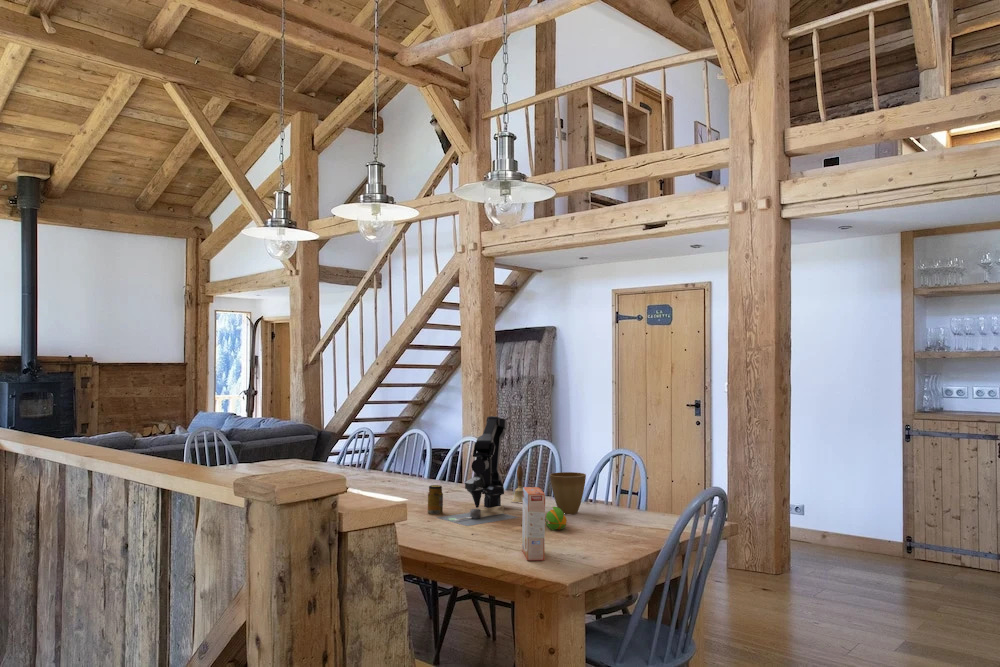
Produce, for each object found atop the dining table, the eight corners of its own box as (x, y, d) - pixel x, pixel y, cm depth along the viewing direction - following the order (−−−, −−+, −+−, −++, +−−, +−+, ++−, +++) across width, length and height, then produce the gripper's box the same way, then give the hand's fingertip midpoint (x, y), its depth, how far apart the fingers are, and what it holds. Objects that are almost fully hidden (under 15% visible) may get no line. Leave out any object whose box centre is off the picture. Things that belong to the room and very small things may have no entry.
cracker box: (545, 561, 236) (546, 493, 236) (526, 561, 235) (526, 493, 236) (539, 550, 250) (540, 486, 250) (521, 550, 249) (521, 486, 250)
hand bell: (508, 502, 336) (508, 466, 337) (514, 499, 344) (514, 464, 345) (526, 504, 333) (526, 467, 334) (531, 500, 341) (531, 465, 342)
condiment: (437, 513, 311) (437, 484, 312) (449, 516, 305) (449, 486, 305) (422, 515, 307) (422, 485, 307) (434, 518, 300) (434, 488, 301)
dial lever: (499, 512, 306) (499, 504, 306) (505, 514, 303) (506, 506, 303) (451, 520, 291) (451, 512, 291) (458, 522, 288) (458, 513, 288)
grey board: (487, 512, 314) (487, 509, 314) (519, 519, 299) (519, 517, 299) (436, 520, 297) (436, 517, 297) (467, 528, 282) (467, 525, 282)
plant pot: (587, 510, 319) (587, 472, 320) (584, 517, 304) (584, 477, 305) (551, 509, 322) (551, 471, 322) (547, 515, 307) (548, 476, 308)
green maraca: (550, 511, 276) (541, 501, 296) (548, 532, 276) (540, 521, 296) (570, 512, 277) (560, 502, 297) (568, 533, 277) (558, 522, 296)
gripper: (454, 469, 309) (454, 508, 309) (483, 474, 295) (482, 515, 294) (476, 467, 317) (476, 505, 316) (504, 472, 302) (504, 511, 301)
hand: (484, 509), depth 307 cm, fingers open, 9 cm apart
